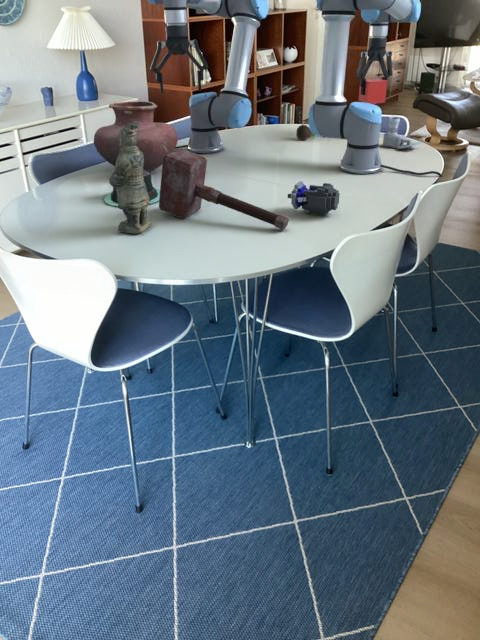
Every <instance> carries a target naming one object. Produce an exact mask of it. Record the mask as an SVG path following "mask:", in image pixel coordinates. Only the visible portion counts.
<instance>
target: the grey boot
mask: <svg viewBox="0 0 480 640" xmlns="http://www.w3.org/2000/svg"><path fill="white" fill-rule="evenodd" d="M400 121H401V118H400V117H398V116H391V117H389V120H388V132H385V133H384V134H383V138H382V146H383V147H385V148H386V147H387V148H393V149H396V150H402V149H410V148H411V149H412V148H413V147H416V146H418V145H422V142H420V141H419V142H413V139H411V138H407V137H406V136H405V135H404V134H399V133H398V132H399V131H398V130H399V125H400Z"/></svg>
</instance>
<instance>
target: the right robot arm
mask: <svg viewBox="0 0 480 640" xmlns="http://www.w3.org/2000/svg"><path fill="white" fill-rule="evenodd" d="M315 2H316V7H317V9H318V11H320V12H321V18H322V19H323V21H324V33H323V47H322V48H323V49H322V62H321V76H320V87H319V95H318V96H317V97H316V98H315V99H314V103H313V104H311V105H310V107H309V110H308V115H307V116H308V117H307V120H308V127H309V128H310V130H311V132H312V136H315V137H320V138H323V139H326V138H327V139H328V138H329V139H338V140H339V139H340V140H346V149H345V151H344V154H343V156H342V158H341V160H340V170H341V171H343V172H345V173H349V174H355V175H356V174H357V175H369V174H370V175H371V174H376V173H378V172H380V171H382V168H383V169H386V170H391V171H394V172H398V173H402V174H403V173H404V174H409V175H414V176H426V175H431V174H433V175H437V176H439V177H440V178H444V176H443V174H442V173H441V172H439V171H435V170H429V171H424V172H415V171H411V170H406V169H405V170H403V169H399V168H395V167H392V166H388V165H385V164H382V161H381V155H380V150H379V147H380V145H379V144H380V138H381V137H380V136H381V129H382V128H381V127H382V123H383V121H382V115H383V114H382V109H381V107H379V106H378V105H376V104H374V103H373V104H370V103H364V102H361V101H353V102H351V103H350V104H349V106H348V105H347V103H348V102H347V98H346V97H345V95H344V91H345V79H346V71H347V70H346V69H347V59H348V47H349V46H348V45H349V35H350V28H351V27H350V25H351V21H353V19H355V16H356V11H360V15H361V19H362V20H363V21H364V22H365V23H368V24H369V31H368V36H369V38H368V44H367V50H366V51H361V52H360V59H359V63H358V67H357V70H356V74H355V77H356V78H359V87H360V86H361V94H362V95H365V85H366V79H367V78H365V77H366V76H367V74H368V72H369V70H370V67H371V66H372V64H373V63H374V62H378V63H379V66H380V69H381V72H382V77H381V79H383V80H387V82H388V79H389V78H390V77H391V76H393V62H392V57H393V51H391V50H386V49H387V42H388V38H387V36H388V33H389V32H388V31H389V23H408V24H411V23H417V22H418V21H419V18H420V16H421V10H422V4H421V3H422V2H421V1H420V0H316V1H315ZM367 57H368V58H367ZM384 57H385V58H384ZM385 59H386V63H385Z"/></svg>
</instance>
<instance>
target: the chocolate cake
mask: <svg viewBox="0 0 480 640" xmlns="http://www.w3.org/2000/svg"><path fill="white" fill-rule="evenodd" d="M113 175H114V171H112V173H111V176H113ZM143 178H144V182H145V184H146V188H147V192H148V195H149V197H150V204H154V203H157V202H159V198H160V188H156V187H154V185H153V182H152V174H151V172H150V171H148V172H147V171H146V170H144V169H143ZM103 200H104V202H105V203H106V204H108V205H109V206H115V207H118V202H117V192H116V189H115V188H114V187H112V191H111V193H108V194H107V195H106V196H104V198H103ZM150 204H149V205H150Z"/></svg>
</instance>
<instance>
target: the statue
mask: <svg viewBox="0 0 480 640" xmlns="http://www.w3.org/2000/svg"><path fill="white" fill-rule="evenodd" d="M138 127H139V123H138V122H137V121H133V122H131V123H128V124H127V125H126V126H125V127H124V128H123V129H121V130H120V133H119V138H118V140H119V147H120V151H119V154H118V156H117V160H116V164H115V166H114V169H113V172H114V175H113V176H112V175H111V176H110V177H109V180H108V183H109V184H110V186H111V187H112V188H113V187H114V188H115V189H116V192H117V202H118V206H117V209H119V210H122V213H123V214H124V215H125V218H126V219H125V220H122V221H120V222H119V224H118V225H117V231H118V232H121V233H126V234H134V235H136V234H142V233H143V232H145V231H146V230H147V229H148V228H150V227H151V226H152V225H153V223H152V220H150V219H148V216H147V214H148V213H147V212H148V211H147V209H148V206H149V205H150V197H149V195H148V192H147V188H146V184H145V182H144V178H143V166H144V156H143V153H142V151H141V150H139V149H138V147H137V146H136V143H137V138H136V131H137V130H138Z"/></svg>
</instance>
